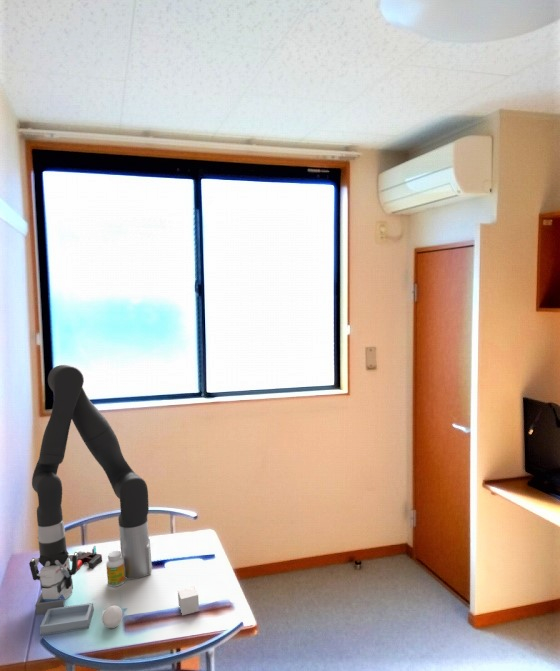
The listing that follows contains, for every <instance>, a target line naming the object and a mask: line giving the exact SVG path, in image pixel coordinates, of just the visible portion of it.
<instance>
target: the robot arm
mask: <svg viewBox="0 0 560 671" xmlns="http://www.w3.org/2000/svg"><path fill="white" fill-rule="evenodd" d="M84 381H85V380H84V375H83V373H82V371H81V370H80V369H78V368H77V367H75V366H72V365H66V364H60V365H57V366H55V367H53V368H52V369H51V370H50V371H49V373H48V376H47V383H48V386H49V388H50V390H51V391H52V392H53V403H52V409H51V413H50V416H49V419H48V422H47V424H46V426H45V430H44V433H43V435H42V439H41V445H40V450H39V456H38V460H37V462H36V465H35V468H34V469H33V470H34V471H33V473H32V478H31V486H32V489H33V490H34V491H35V493H36V494H37V499H38V506H37V508H36V520H37V539H38V549H39V557H37V558H35V557H32V558H31V560H30V561H29V563H28V564H29V569H30V571H31V572H30V573H31V576H32V579H33V581H37V580H38V581H39V582H40V584H41V575H40V570H39V567H38V565H39V563H40V565H42V567H44V566H45V567H49V566H53V565H57V566H60V570H61V572H63V573H64V575H65V576H66V578H65V580H66V589H69V588H70V587H71V584H72V582H73V578H72V576H74V575H76V573H77V571H78V570H77V565H78V552H77V551H75V552H74V553H69V552H68V550H67V549H68V548H67V541H66V528H65V523H64V520H63V519H64V518H63V517H64V516H63V509H62V503H63V502H62V501H63V484H62V480H61V478H60V477H59V476H58V475H57V474H58V470H59V466H60V465H61V464H62V463H63V462H64V458H65V454H66V449H67V444H68V439H69V433H70V432H69V431H70V428H71V424H72V422H73V425H74V426H75V428H76V430H77V432H78V435H80V437H81V440H82V441H83V443H84V444H85V446H86V447H87V449H88V452H90V453H91V455H92V457H93V458H94V459H95V461H96V462H97V463H98V465H100V467H101V468H102V470H103V471H104V473H105V474H106V477H107V479H108V481H109V483H110V485H111V488H112V491H113V494H114V495H115V496H116V497H117V498H118V499H119V505H120V506H119V507H120V514H119V515H118V518H117V519H118V530H119V544H120V546H119V547H120V552H121V558H123V560H124V572H125V579H129V580H136V579H141V578H144V577H146V576H149V575H151V573H152V569H153V568H152V566H153V565H152V552H151V541H150V538H149V536H150V533H149V524H148V522H149V521H148V514H149V511H150V510H149V509H150V508H149V489H148V486H147V482H146V481H145V480H144V478H142V477H140V476H139V475H138V474H136V472H135V471H134V470H133V469H132V467H131V466H130V465H129V462H127V460H126V459H125V457H124V455H123V453H122V448H121V444H120V442H119V440H118V438H117V435H116V434H115V431H114V430H113V428H112V426H111V425H110V423H109V421H108V420H107V418H106V417H105V416H104V415H103V414H102V412H101V411H100V410H99V409H98V408H97V406H95V404H93V402H92V401H91V400H90V399H89V397H88V395H87V393H86V391H85V389H84V388H83V386H84ZM68 558H69V562H71V567H70V568H69V567H68V564H67V563H66V565H65V566H63V565H64V563H65V562H66V560H67V559H68ZM40 590H41V591H42V586H41V585H40Z"/></svg>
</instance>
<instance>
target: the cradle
mask: <svg viewBox="0 0 560 671" xmlns="http://www.w3.org/2000/svg"><path fill="white" fill-rule="evenodd" d="M73 589H74V585H73V581H72V591H73ZM34 606H35V615H42V614H43V615H44V614H46V612H47V610H48V609H52V608H59V607H66V606H65V601H64V600H57V601H50V602H43V596H42V592H41V593H40V595H39V596H38V598H37V601H36V602H35V605H34Z"/></svg>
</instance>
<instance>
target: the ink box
mask: <svg viewBox="0 0 560 671" xmlns="http://www.w3.org/2000/svg"><path fill="white" fill-rule="evenodd" d="M66 563H67V564H68V567H69V568H70V569H71V565H70V559H69V558H68V559H67V560H66V562H65V563H64V565H63V566H65V565H66ZM39 574H40V575H41V583H40V587H41V586H42V590H41V593H42V596H43V602H50V601H57V600H64V602H65V601H66V599H68V598H69V597H70V596H71V594H72V593H73V590H72V584H71V587H70V588H69V589H66V580H65V578H66V576H65V575H64V573H63V572H61V570H60V566H57V565H53V566H49V567H45V566H41V568H40V570H39Z"/></svg>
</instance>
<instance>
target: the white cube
mask: <svg viewBox="0 0 560 671" xmlns="http://www.w3.org/2000/svg"><path fill="white" fill-rule="evenodd" d="M177 596H178V597H177V599H178V607H179V606H180V608H179V610H180V609H181V611H180V613H182V614H181V616H185V615H188V614H193V613H197V612H199V611H200V604H199V602H200V601H199V593H198V591H197V589H196V587H195V586H190V587H187V588H183V589H179V590H177Z"/></svg>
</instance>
